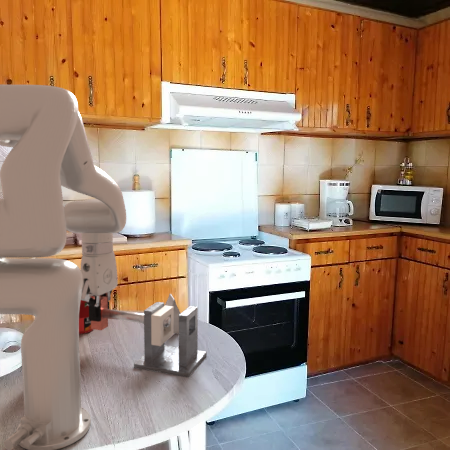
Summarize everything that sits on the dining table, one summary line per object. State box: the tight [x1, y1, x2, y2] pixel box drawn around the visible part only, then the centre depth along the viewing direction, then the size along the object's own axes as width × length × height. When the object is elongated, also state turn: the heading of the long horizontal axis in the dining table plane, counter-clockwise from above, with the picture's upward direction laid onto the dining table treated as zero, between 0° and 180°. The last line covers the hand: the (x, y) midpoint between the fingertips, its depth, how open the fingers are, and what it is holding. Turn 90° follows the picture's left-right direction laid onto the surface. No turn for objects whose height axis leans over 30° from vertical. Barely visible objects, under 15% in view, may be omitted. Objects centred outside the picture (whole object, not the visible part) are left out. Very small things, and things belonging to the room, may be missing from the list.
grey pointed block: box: [164, 293, 182, 335], centre depth 125 cm, size 4×7×10 cm, turn 18°
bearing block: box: [133, 301, 207, 378], centre depth 105 cm, size 12×14×14 cm
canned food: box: [79, 294, 94, 335], centre depth 124 cm, size 8×8×11 cm
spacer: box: [151, 304, 175, 346], centre depth 105 cm, size 7×2×7 cm, turn 162°
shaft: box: [91, 296, 171, 331], centre depth 107 cm, size 3×21×8 cm, turn 73°
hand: (99, 317), depth 110 cm, fingers closed on shaft, 3 cm apart
